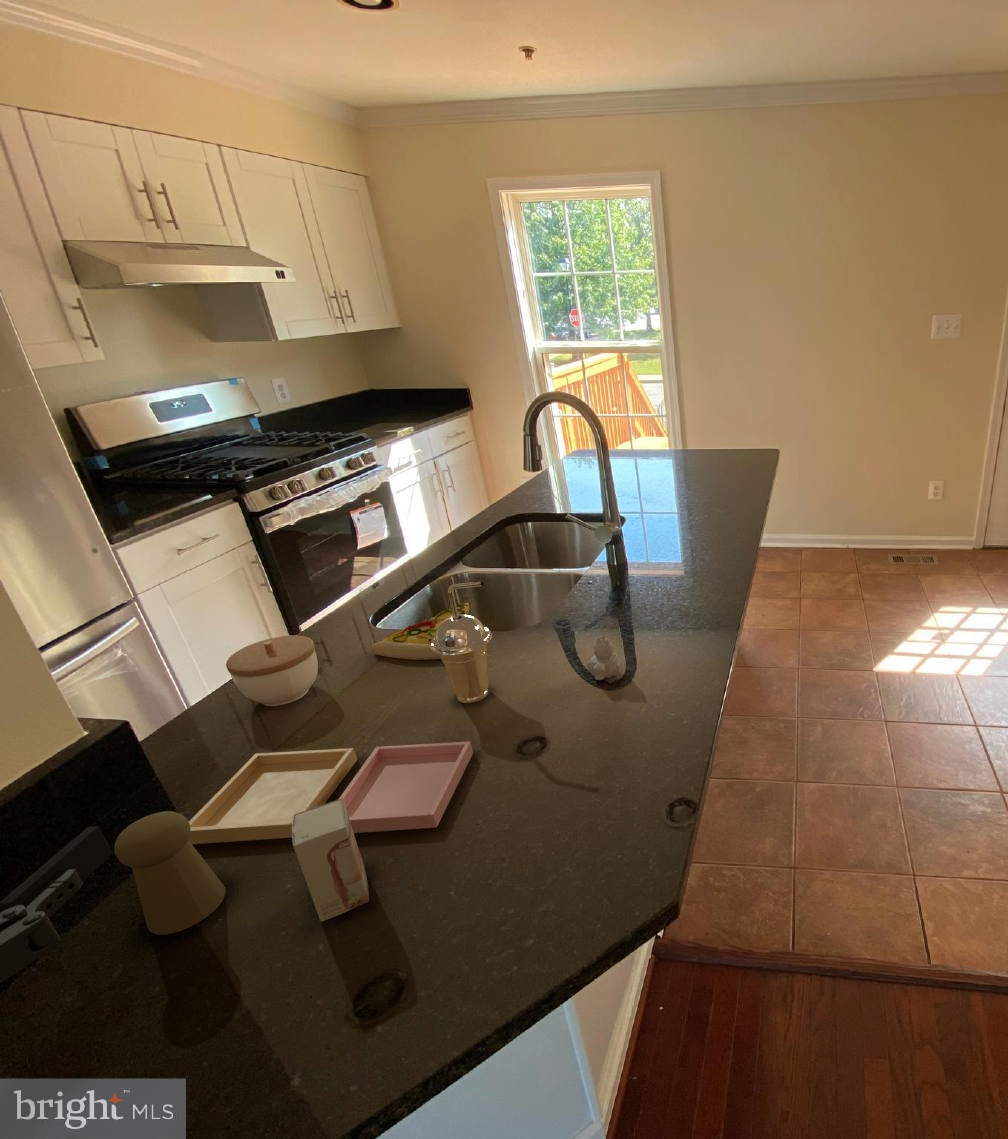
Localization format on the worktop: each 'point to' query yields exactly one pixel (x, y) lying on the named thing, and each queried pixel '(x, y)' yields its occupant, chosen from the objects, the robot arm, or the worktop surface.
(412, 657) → the pizza slice
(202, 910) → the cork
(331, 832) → the white carton
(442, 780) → the pink tray
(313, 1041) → the worktop surface
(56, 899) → the robot arm
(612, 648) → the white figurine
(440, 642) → the cup with straw
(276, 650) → the trinket box
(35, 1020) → the worktop surface
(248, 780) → the birch tray
